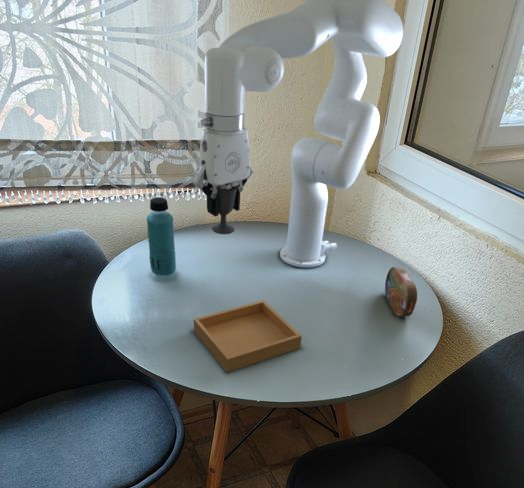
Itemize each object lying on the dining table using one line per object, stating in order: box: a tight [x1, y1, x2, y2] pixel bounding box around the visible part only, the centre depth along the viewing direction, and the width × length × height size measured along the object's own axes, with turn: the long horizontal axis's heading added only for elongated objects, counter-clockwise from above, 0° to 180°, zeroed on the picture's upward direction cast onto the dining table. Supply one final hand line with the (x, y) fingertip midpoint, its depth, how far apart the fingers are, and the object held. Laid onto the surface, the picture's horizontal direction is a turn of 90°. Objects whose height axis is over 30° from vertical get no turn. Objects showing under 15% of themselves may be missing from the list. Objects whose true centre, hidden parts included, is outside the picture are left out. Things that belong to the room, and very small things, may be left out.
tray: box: [193, 299, 303, 373], centre depth 110 cm, size 18×16×3 cm
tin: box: [384, 266, 418, 317], centre depth 123 cm, size 15×3×8 cm, turn 5°
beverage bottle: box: [146, 196, 177, 277], centre depth 125 cm, size 6×7×20 cm
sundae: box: [209, 182, 240, 235], centre depth 109 cm, size 7×7×15 cm
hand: (223, 210), depth 111 cm, fingers closed on sundae, 4 cm apart
